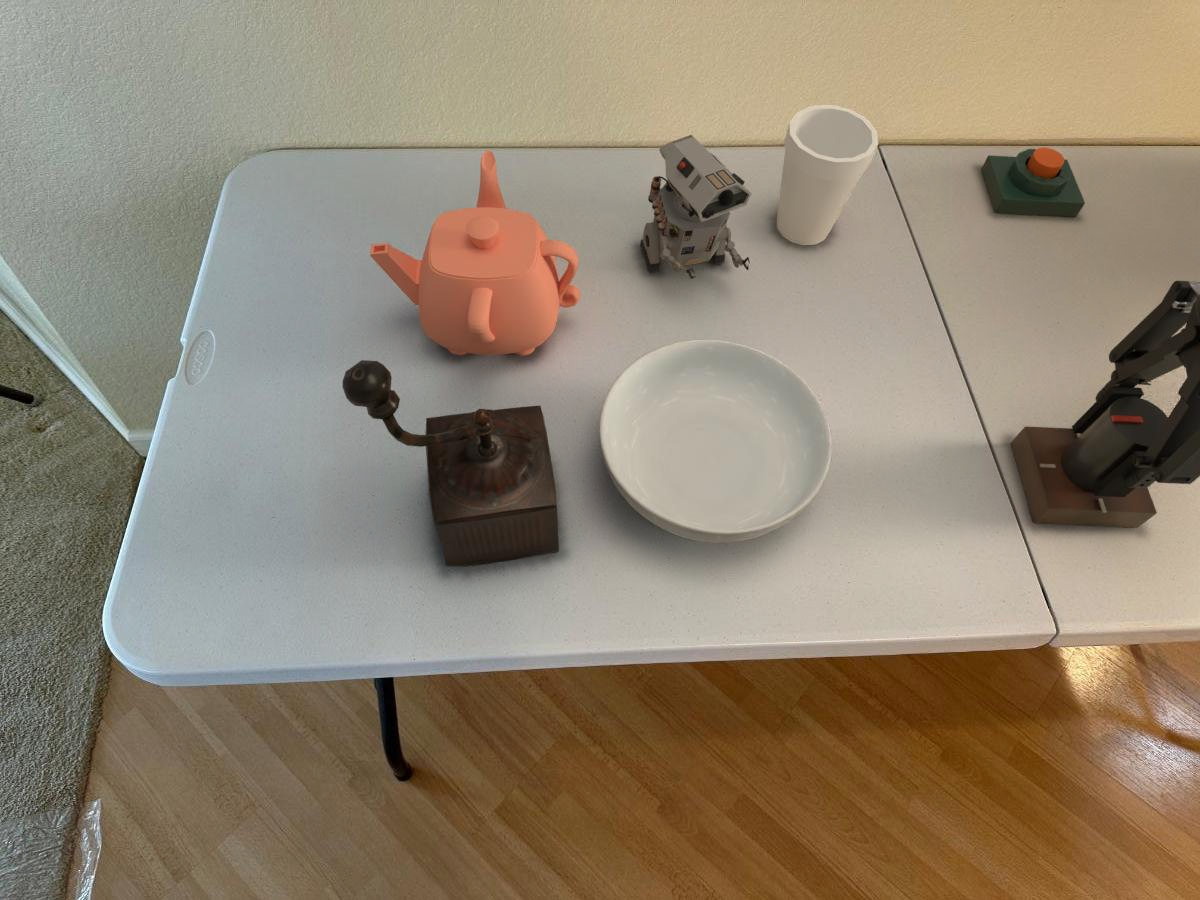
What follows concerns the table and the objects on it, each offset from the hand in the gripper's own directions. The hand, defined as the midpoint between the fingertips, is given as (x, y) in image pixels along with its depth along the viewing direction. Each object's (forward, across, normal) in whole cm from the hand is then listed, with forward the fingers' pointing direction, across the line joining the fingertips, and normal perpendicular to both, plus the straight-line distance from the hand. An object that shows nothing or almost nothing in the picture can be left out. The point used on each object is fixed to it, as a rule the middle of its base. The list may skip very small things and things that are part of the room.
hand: (1097, 460), depth 75 cm
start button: (+1, -42, +6) cm, 42 cm away
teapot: (+5, -18, -59) cm, 62 cm away
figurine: (+5, -26, -37) cm, 45 cm away
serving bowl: (+5, 0, -36) cm, 36 cm away
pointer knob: (+1, 0, 0) cm, 1 cm away
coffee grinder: (+5, +6, -58) cm, 58 cm away
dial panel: (+4, 0, 0) cm, 4 cm away
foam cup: (+5, -34, -23) cm, 41 cm away
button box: (+4, -42, +6) cm, 43 cm away
